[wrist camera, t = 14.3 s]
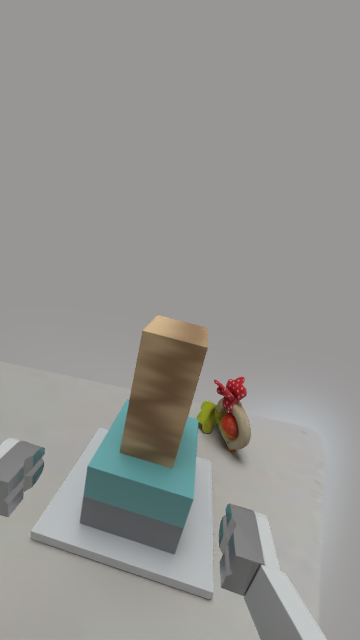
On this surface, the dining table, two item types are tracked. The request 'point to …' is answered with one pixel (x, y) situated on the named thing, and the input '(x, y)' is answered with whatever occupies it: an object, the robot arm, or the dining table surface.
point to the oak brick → (163, 389)
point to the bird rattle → (228, 415)
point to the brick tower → (137, 511)
